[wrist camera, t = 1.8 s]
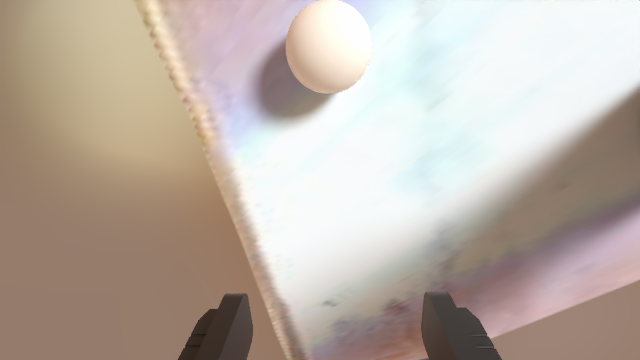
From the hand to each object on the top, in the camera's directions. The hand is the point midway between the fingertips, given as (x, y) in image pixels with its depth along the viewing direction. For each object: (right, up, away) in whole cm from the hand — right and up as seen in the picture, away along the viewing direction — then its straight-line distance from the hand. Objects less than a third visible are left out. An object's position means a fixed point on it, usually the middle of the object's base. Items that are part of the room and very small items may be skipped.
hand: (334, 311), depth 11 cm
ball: (0, +13, +9) cm, 16 cm away
